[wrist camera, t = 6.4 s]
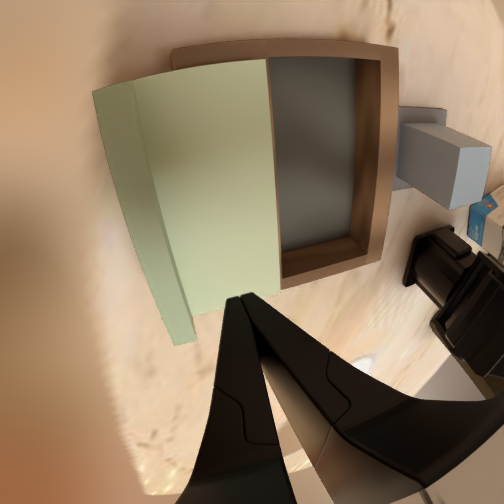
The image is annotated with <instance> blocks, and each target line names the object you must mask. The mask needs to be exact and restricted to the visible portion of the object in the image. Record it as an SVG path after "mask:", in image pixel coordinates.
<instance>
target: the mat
mask: <svg viewBox="0 0 504 504" xmlns="http://www.w3.org/2000/svg"><path fill="white" fill-rule="evenodd" d="M446 114H447V110H445V109H435V108H420V107H398V126H397V142H396V154H395V165H394V175H393V184H392V191H394V190H400V189H405V188H411V187H413V186H411V185H409V184H408V183H406V182H405V181H403V180H401V179H400V178H398V177H396V176H397V166H398V156H399V144H400V130H401V123H437V124H440V125H443V126H446Z"/></svg>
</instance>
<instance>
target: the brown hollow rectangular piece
mask: <svg viewBox="0 0 504 504" xmlns="http://www.w3.org/2000/svg"><path fill="white" fill-rule="evenodd" d="M260 59H265V60H266V71H267V83H268V94H269V106H270V119H271V132H272V146H273V160H274V175H275V191H276V208H277V226H278V245H279V266H280V290H283V289H287V288H290V287H294V286H297V285H301V284H304V283H307V282H311V281H314V280H318V279H321V278H324V277H328V276H331V275H334V274H338V273H341V272H344V271H347V270H350V269H354V268H357V267H360V266H363V265H366V264H369V263H373V262H376V261H379V260H381V255H382V250H383V245H384V239H385V233H386V227H387V221H388V214H389V207H390V200H391V192H392V184H393V175H394V165H395V154H396V142H397V126H398V101H399V58H398V48H395V47H389V46H383V45H376V44H369V43H360V42H351V41H339V40H324V39H256V40H240V41H229V42H219V43H210V44H203V45H196V46H189V47H183V48H177V49H173V50H172V52H171V61H172V69H173V71H175V70H180V69H186V68H192V67H198V66H204V65H211V64H219V63H227V62H236V61H247V60H260Z"/></svg>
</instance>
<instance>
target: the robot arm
mask: <svg viewBox="0 0 504 504" xmlns="http://www.w3.org/2000/svg"><path fill="white" fill-rule="evenodd" d="M454 230H455V229H454V227H453V226H448V227H445V228H442V229H438V230H435V231H432V232H429V233H426V234H423V235H420V236H417V237H416V238H415V239H414V241H413V246H412V250H411V254H410V258H409V262H408V266H407V269H406V273H405V277H404V280H403V285H404V286H405V287H408V286H411V285H413V284H415V283H416V284H417V285H418V286H419V287H420V288H421V290H422V291H423V292H424V293H425V294H426V295H427V296H428V297H429V298H430V299H431V300H432V301H433V302H434V303H435V304H436V305H437V307H438V308H439V309H440V311H439V313H438V314H437V315H436V316H435V317H434V318H433V319H432V321H433V323H434V324H435V327H436V329H437V331H438V332H439V334H440V335H441V337H442V339H443V340H444V342H445V344H446V345H447V347H448V349H449V351H450V352H451V354H452V356H453V357H457V358H459V359H460V360H462V361H463V362H466V363H468V365H469V366H470V368H471V369H472V370H473V372H474V373H475V374H476V375H479V376H481V377H486V376H487V375H490V376H494V377H498V378H503V379H504V268H502V267H501V266H500V265H499V264H498V263H497V262H495V261H494V260H493V259H492V258H490V257H489V256H487V255H486V254H484V253H483V252H481V251H479V252H478V253H477V255H475V254H474V253H473V252H472V248H471V246H470V245H469V244H467V243H466V242H465V241H464V240H462V239H461V238H460V237H459V236H457V235H456V234H455V233H454ZM491 269H492V270H493V271H492V272H491V273H489V272H490V271H491ZM329 352H330V353H329ZM262 370H263V371H262ZM263 372H264V374H265V376H266V378H267V380H268V382H269V384H270V386H271V388H272V390H273V392H274V394H275V396H276V398H277V400H278V402H279V404H280V405H281V407H282V409H283V411H284V413H285V415H286V417H287V419H288V421H289V423H290V424H291V426H292V428H293V430H294V432H295V434H296V436H297V438H298V439H299V441H300V443H301V445H302V447H303V449H304V451H305V452H306V454H307V456H308V458H309V460H310V461H311V463H312V465H313V467H314V468H315V470H316V472H317V474H318V476H319V478H320V479H321V481H322V483H323V485H324V486H325V488H326V490H327V492H328V493H329V495H330V497H331V498H332V500H333V502H334V504H504V388H503V389H502V390H501V391H500V392H499V393H498V394H497V395H496V396H494V397H492V398H490V399H487V400H483V401H443V400H442V401H441V400H424V399H418V398H414V397H411V396H408V395H405V394H403V393H401V392H399V391H397V390H395V389H394V388H392V387H390V386H388V385H386V384H384V383H382V382H380V381H378V380H377V379H375V378H373V377H371V376H369V375H367V374H366V373H364V372H362V371H360V370H359V369H357V368H355V367H354V366H352V365H351V364H349V363H348V362H346V361H345V360H343V359H342V358H340V357H339V356H338V355H336V354H335V353H334V352H332V351H330V350H329V349H328V348H327V347H325V346H324V345H322V344H321V343H320V342H318V341H317V340H316V339H314V338H313V337H312V336H310V335H309V334H308V333H306V332H305V331H304V330H302V329H301V328H300V327H298V326H297V325H296V324H294V323H293V322H292V321H290V320H289V319H288V318H286V317H285V316H284V315H282V314H281V313H280V312H278V311H277V310H276V309H274V308H273V307H272V306H270V305H269V304H268V303H266V302H265V301H264V300H263V299H261V298H260V297H259V296H257V295H256V294H255V293H253V292H249V293H245V294H242V295H240V297H239V296H234V297H230V298H227V299H226V303H225V309H224V316H223V323H222V330H221V337H220V344H219V351H218V358H217V365H216V372H215V379H214V388H213V393H212V400H211V405H210V411H209V416H208V420H207V424H206V428H205V432H204V435H203V439H202V442H201V446H200V449H199V452H198V456H197V459H196V462H195V466H194V469H193V472H192V475H191V477H190V480H189V482H188V484H187V486H186V488H185V489H184V491H183V492H182V494H181V496H180V497H179V498H178V500H177V501H176V503H175V504H297V502H296V499H295V495H294V493H293V489H292V486H291V483H290V480H289V476H288V473H287V470H286V467H285V463H284V459H283V456H282V452H281V448H280V444H279V440H278V435H277V431H276V427H275V422H274V418H273V414H272V410H271V405H270V401H269V397H268V392H267V388H266V384H265V379H264V375H263Z"/></svg>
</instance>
